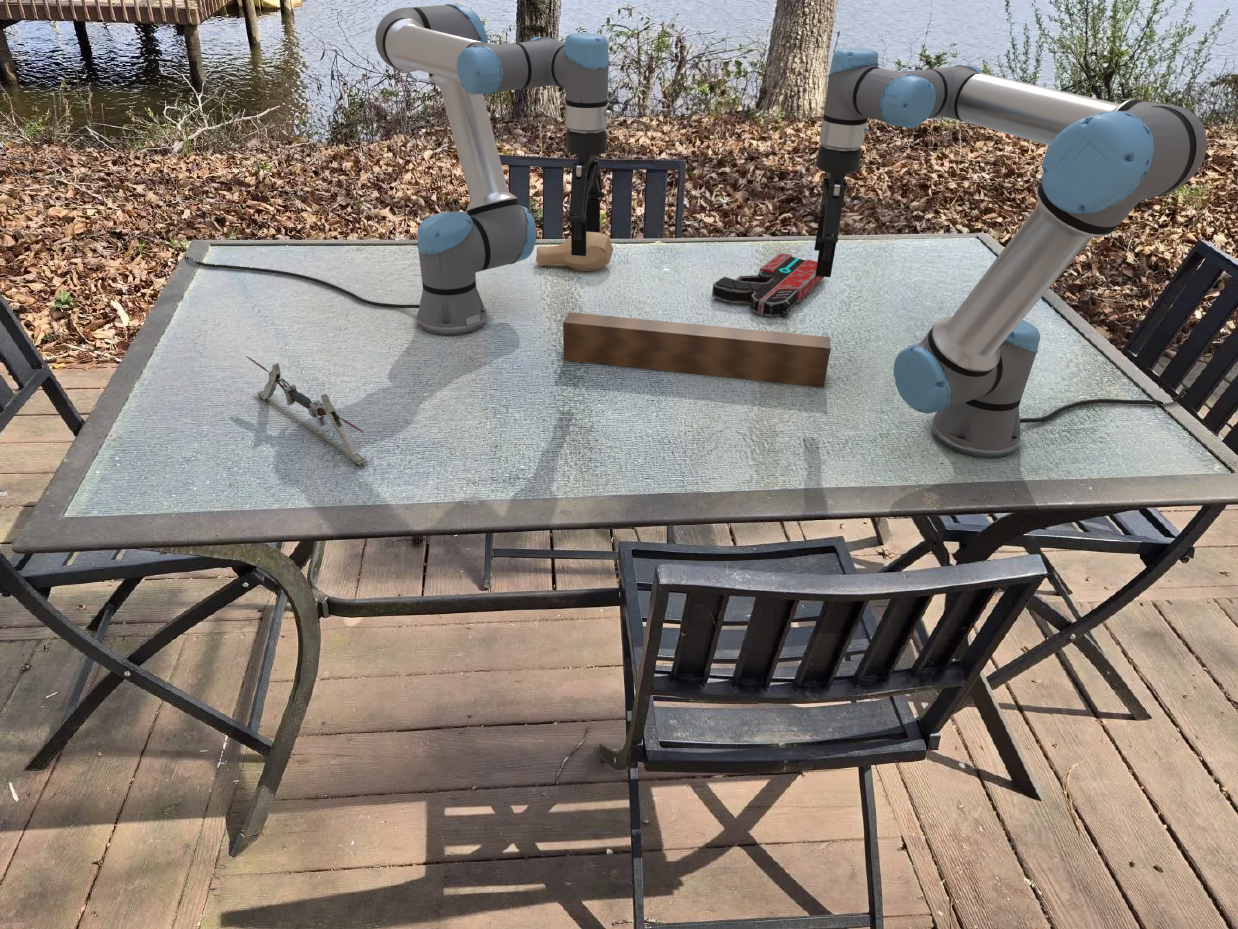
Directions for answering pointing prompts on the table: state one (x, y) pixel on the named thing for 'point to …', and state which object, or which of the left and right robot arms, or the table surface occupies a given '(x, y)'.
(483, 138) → the left robot arm
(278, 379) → the bow
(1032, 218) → the right robot arm
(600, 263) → the squash
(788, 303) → the gun
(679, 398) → the table surface
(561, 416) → the table surface
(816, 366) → the beam
